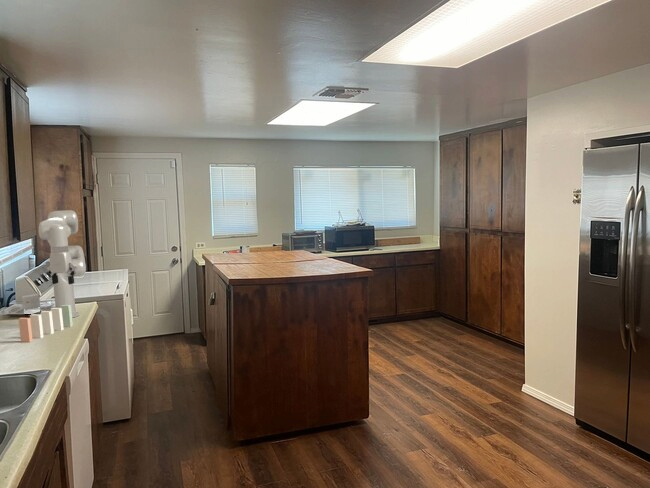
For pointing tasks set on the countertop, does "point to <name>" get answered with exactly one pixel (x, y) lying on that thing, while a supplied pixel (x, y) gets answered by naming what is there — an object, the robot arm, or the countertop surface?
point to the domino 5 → (67, 315)
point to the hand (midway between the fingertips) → (63, 283)
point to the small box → (30, 301)
